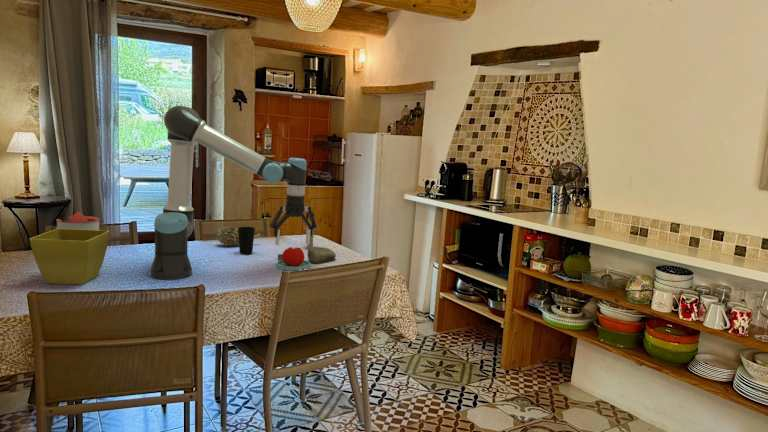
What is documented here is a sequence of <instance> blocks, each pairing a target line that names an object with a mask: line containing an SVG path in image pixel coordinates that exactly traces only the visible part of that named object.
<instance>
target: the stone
mask: <svg viewBox="0 0 768 432" xmlns="http://www.w3.org/2000/svg"><path fill="white" fill-rule="evenodd" d="M336 257H337V255H336V253H335V251H333V250H332V249H330V248H328V247H315V246H313V247H311V248H309V249H308V250H307V259H308V261H309V262H310V263H311V264H321V263H326V262H329V261H332V260H335V259H336Z"/></svg>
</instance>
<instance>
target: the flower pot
mask: <svg viewBox="0 0 768 432" xmlns="http://www.w3.org/2000/svg"><path fill="white" fill-rule="evenodd" d="M109 237H110V231H109V230H100V229H99V230H82V229H56V228H55V229H52V230H50V231H47V232H44V233H41V234H39V235H36V236H33V237H30V238H29V243H30V248H31V251H32V253H33V257H34V260H35V262H36V265H37V268H38V270H39V272H40V274H41V276H42V279H43V280H44V282H45V283H46V284H54V285H64V284H65V285H84V284H86V283H88V282H89V281H91V280H93V279H94V278H96V277H98V276H99V274H100V271H101V269H102V266H103V263H104V259H105V257H106V252H107V249H108V244H109Z"/></svg>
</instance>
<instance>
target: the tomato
mask: <svg viewBox="0 0 768 432" xmlns="http://www.w3.org/2000/svg"><path fill="white" fill-rule="evenodd" d="M281 254H282V260H283V262H284V263H285V264H286V265H289V266H292V267H293V266H299V265H301V264H302V263H303V261H304V260H305V252H304V251H303V249H302V248H301V247H296V246H295V247H292V246H289V247H288V248H286V249H284V251H283V252H282V253H281Z"/></svg>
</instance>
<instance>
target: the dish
mask: <svg viewBox="0 0 768 432" xmlns="http://www.w3.org/2000/svg"><path fill="white" fill-rule="evenodd" d="M275 267H276V268H277V269H279V270H283V271H290V270H298V271H301V270H300V269H306V270H308V268H309V269H310V268H311V267H312V262H311V261H310V260H306V259H304V261H303V263H302V264H301V265H299V266H293V267H292V266H289V265H286V264H285V263H284V262H283V260H280V261H278V260H276V263H275Z"/></svg>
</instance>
